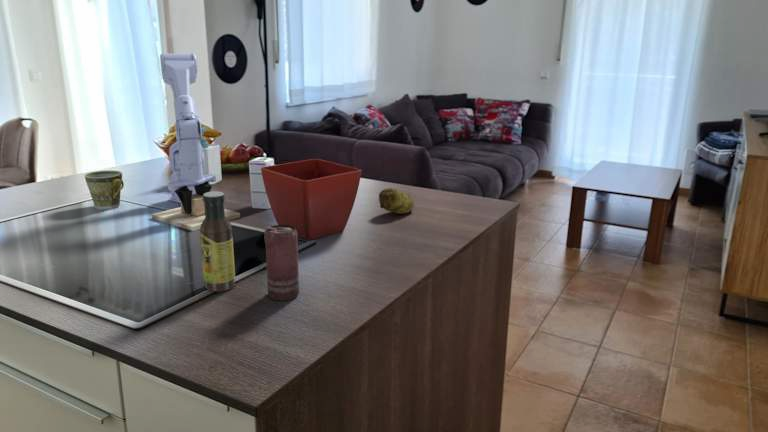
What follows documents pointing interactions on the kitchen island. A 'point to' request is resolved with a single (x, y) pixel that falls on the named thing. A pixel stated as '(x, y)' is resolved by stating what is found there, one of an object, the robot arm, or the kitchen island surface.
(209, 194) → the sauce bottle
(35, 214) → the kitchen island surface
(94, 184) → the ceramic cup
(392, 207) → the yellow-green lumpy oblong piece
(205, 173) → the soap bottle
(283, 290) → the can
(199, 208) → the block
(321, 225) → the plant pot
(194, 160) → the robot arm
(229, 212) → the board
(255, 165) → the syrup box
